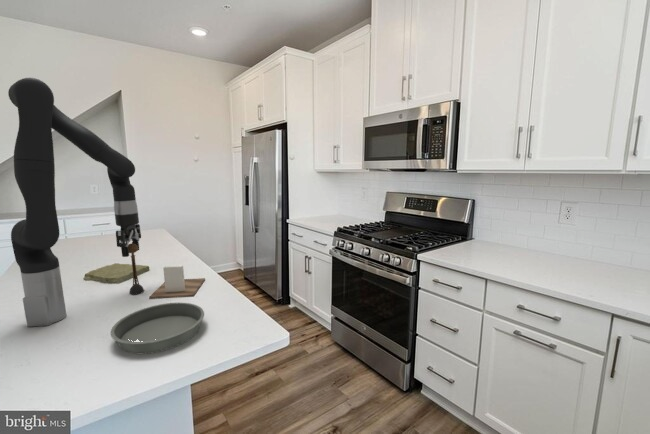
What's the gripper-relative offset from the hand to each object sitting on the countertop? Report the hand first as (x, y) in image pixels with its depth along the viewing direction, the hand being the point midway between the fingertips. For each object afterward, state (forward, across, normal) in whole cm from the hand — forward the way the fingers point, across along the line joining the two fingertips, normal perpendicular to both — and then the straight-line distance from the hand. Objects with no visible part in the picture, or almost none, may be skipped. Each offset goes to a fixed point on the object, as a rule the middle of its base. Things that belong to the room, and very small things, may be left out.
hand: (131, 253), depth 123 cm
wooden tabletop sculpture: (+16, 0, 0) cm, 16 cm away
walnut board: (+16, +2, -16) cm, 23 cm away
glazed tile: (+10, -3, -16) cm, 19 cm away
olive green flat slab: (+17, +23, +18) cm, 34 cm away
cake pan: (+16, -34, -22) cm, 44 cm away
